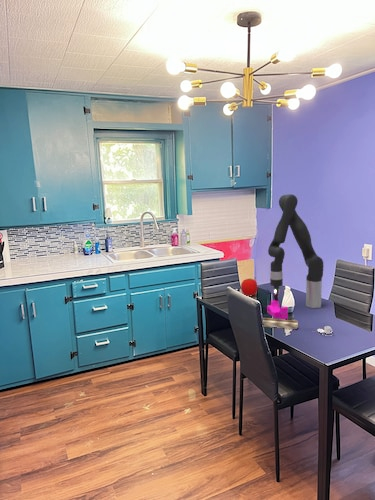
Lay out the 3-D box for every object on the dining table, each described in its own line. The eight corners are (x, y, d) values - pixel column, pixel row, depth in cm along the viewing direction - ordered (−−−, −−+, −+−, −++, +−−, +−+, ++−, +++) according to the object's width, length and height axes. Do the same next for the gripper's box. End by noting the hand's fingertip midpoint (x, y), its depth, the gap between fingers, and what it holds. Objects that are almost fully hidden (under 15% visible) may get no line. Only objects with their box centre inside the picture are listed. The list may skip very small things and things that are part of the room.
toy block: (267, 312, 232) (267, 301, 231) (276, 311, 234) (276, 299, 232) (278, 321, 218) (278, 308, 217) (287, 319, 219) (287, 307, 218)
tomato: (261, 296, 264) (261, 278, 261) (248, 299, 258) (248, 281, 255) (249, 291, 274) (249, 275, 272) (237, 295, 268) (237, 278, 266)
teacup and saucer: (314, 332, 200) (315, 325, 200) (326, 329, 203) (327, 322, 202) (326, 338, 192) (326, 331, 191) (338, 335, 195) (338, 328, 194)
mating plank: (297, 327, 207) (297, 320, 207) (297, 329, 204) (297, 323, 203) (261, 323, 214) (261, 317, 214) (260, 326, 211) (260, 320, 210)
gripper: (281, 280, 225) (281, 308, 228) (283, 275, 237) (283, 301, 240) (268, 280, 227) (269, 307, 231) (271, 274, 239) (272, 300, 243)
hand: (276, 304), depth 235 cm, fingers closed
